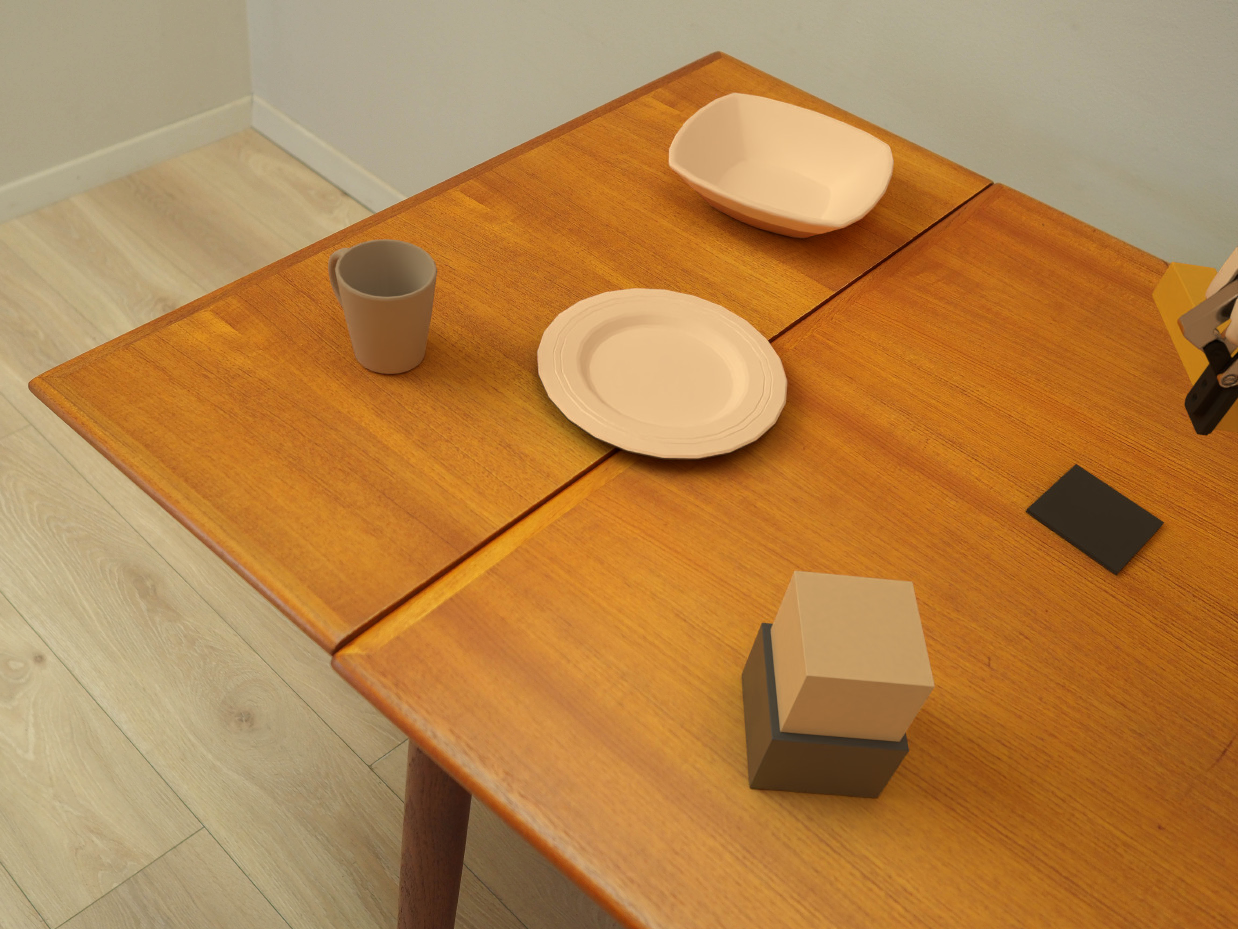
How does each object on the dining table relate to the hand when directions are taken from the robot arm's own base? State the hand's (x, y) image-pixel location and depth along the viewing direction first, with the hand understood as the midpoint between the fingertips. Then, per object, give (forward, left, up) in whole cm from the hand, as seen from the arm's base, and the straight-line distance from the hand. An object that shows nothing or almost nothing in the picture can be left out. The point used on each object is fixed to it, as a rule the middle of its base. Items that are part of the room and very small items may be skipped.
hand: (1225, 422), depth 68 cm
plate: (+36, +13, -16) cm, 41 cm away
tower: (+7, +29, -16) cm, 34 cm away
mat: (+4, -4, -16) cm, 17 cm away
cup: (+53, +29, -16) cm, 62 cm away
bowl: (+49, -17, -16) cm, 54 cm away
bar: (+4, -4, 0) cm, 6 cm away
